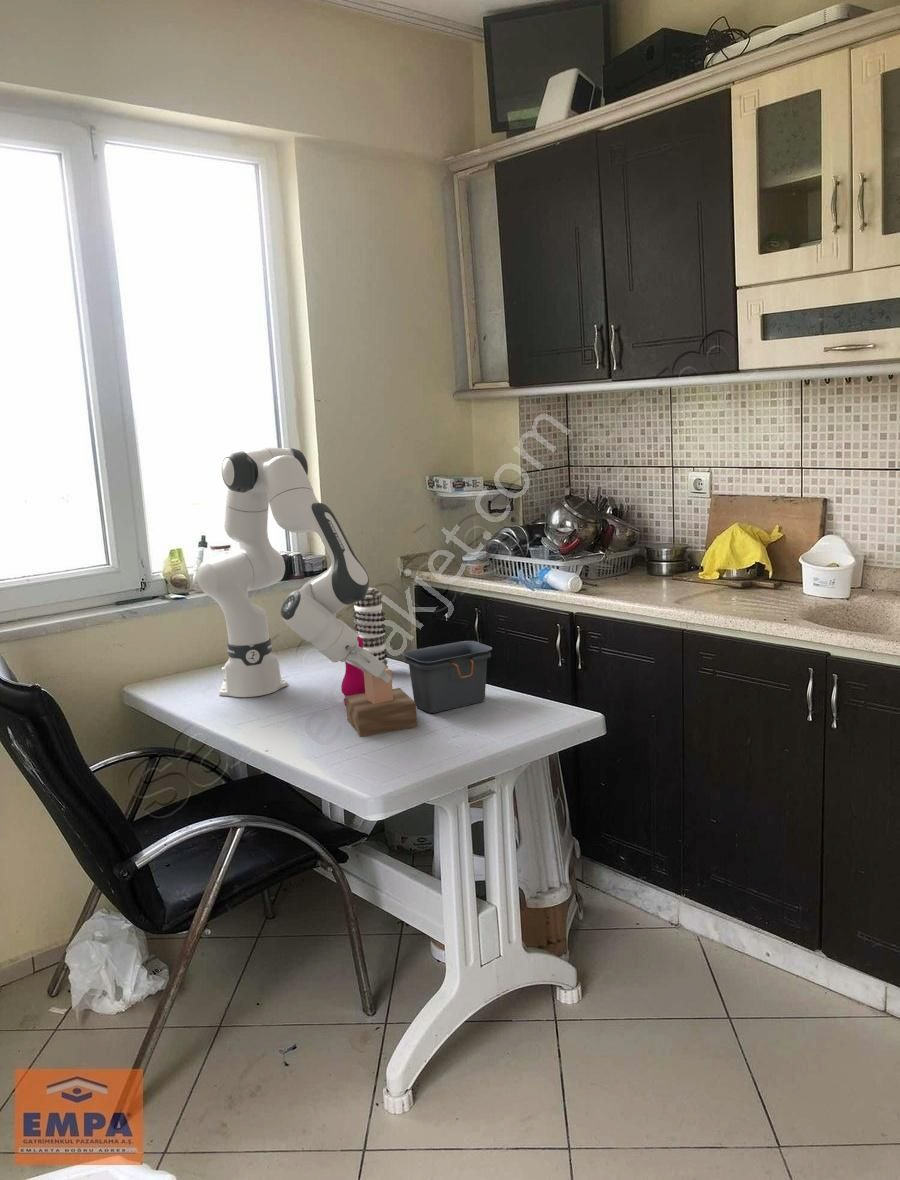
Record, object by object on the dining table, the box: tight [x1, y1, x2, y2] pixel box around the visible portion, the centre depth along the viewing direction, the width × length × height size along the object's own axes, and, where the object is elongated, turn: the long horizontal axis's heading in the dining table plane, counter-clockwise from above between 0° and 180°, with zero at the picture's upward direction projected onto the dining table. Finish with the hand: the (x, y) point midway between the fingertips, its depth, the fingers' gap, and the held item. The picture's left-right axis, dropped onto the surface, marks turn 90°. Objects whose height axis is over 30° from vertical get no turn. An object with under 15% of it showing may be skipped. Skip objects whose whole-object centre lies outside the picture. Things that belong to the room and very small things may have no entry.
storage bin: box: [402, 640, 493, 714], centre depth 240 cm, size 21×16×14 cm
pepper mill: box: [340, 636, 365, 707], centre depth 245 cm, size 7×7×20 cm
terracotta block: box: [364, 667, 394, 704], centre depth 229 cm, size 5×5×8 cm
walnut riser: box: [344, 687, 418, 738], centre depth 230 cm, size 14×14×6 cm
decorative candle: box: [352, 586, 389, 673], centre depth 272 cm, size 9×9×25 cm
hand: (380, 675), depth 229 cm, fingers open, 8 cm apart
